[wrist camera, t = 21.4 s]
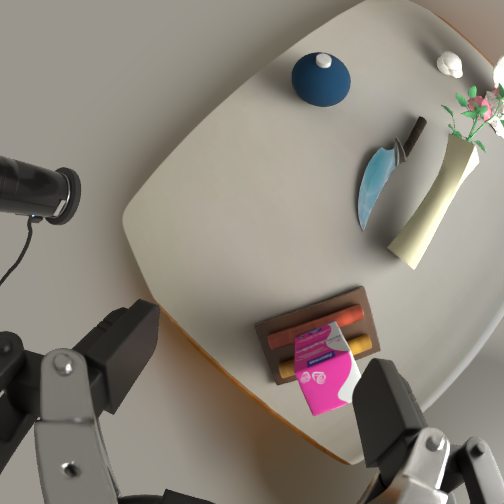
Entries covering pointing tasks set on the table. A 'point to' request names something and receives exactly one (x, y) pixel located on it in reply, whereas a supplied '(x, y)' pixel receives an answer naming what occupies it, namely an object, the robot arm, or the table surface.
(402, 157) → the knife
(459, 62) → the microfossil shell
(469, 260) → the table surface
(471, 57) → the table surface
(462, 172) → the flower vase
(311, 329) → the rod rack
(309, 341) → the supplement box
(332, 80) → the christmas ornament
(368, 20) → the table surface
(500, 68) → the cherub figurine
